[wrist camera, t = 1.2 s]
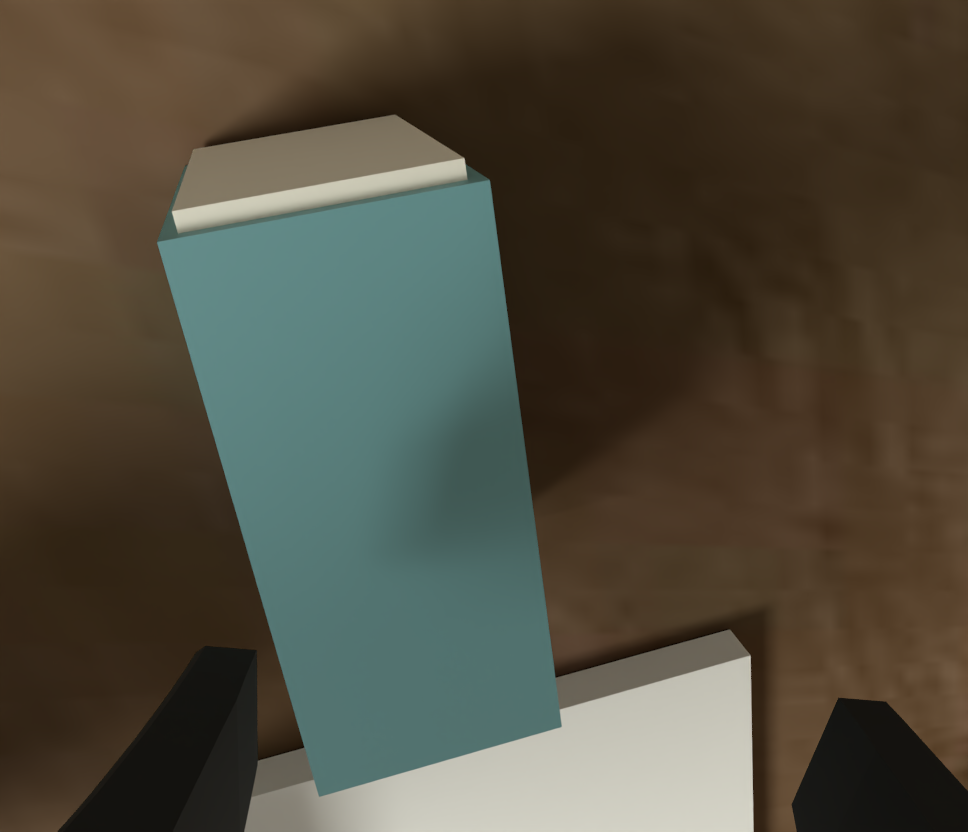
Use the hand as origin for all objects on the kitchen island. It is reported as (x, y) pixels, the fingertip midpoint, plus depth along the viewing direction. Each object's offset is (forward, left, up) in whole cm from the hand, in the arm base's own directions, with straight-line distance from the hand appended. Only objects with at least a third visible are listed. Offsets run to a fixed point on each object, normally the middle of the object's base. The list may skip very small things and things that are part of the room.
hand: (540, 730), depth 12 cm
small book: (-1, +1, -11) cm, 11 cm away
